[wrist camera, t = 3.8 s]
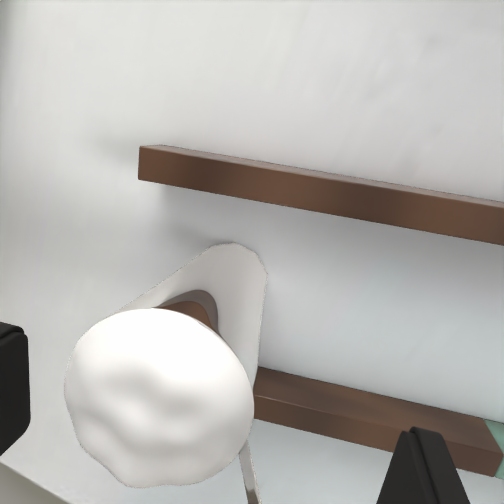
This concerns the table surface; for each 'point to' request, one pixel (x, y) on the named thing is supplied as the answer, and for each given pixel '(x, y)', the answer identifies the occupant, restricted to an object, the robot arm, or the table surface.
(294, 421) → the slide track
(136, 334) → the milkshake
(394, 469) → the robot arm
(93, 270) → the table surface
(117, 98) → the table surface
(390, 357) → the table surface
